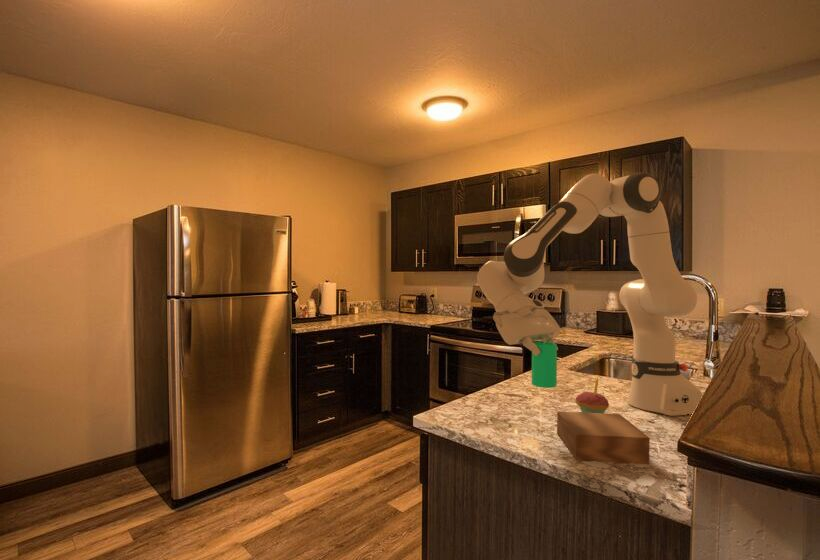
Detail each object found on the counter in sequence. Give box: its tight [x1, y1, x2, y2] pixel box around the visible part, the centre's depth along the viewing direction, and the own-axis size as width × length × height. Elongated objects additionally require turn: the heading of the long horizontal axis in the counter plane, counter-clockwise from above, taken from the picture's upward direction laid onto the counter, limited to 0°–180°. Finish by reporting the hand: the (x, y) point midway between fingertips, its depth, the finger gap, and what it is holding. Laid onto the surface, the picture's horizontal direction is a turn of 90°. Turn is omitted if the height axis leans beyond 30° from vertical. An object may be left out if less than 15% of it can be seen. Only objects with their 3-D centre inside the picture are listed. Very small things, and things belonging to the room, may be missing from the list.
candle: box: [531, 337, 558, 389], centre depth 104 cm, size 6×6×12 cm
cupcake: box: [575, 377, 610, 413], centre depth 115 cm, size 9×8×12 cm
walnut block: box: [556, 411, 651, 465], centre depth 95 cm, size 15×15×6 cm
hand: (547, 352), depth 103 cm, fingers closed on candle, 5 cm apart
